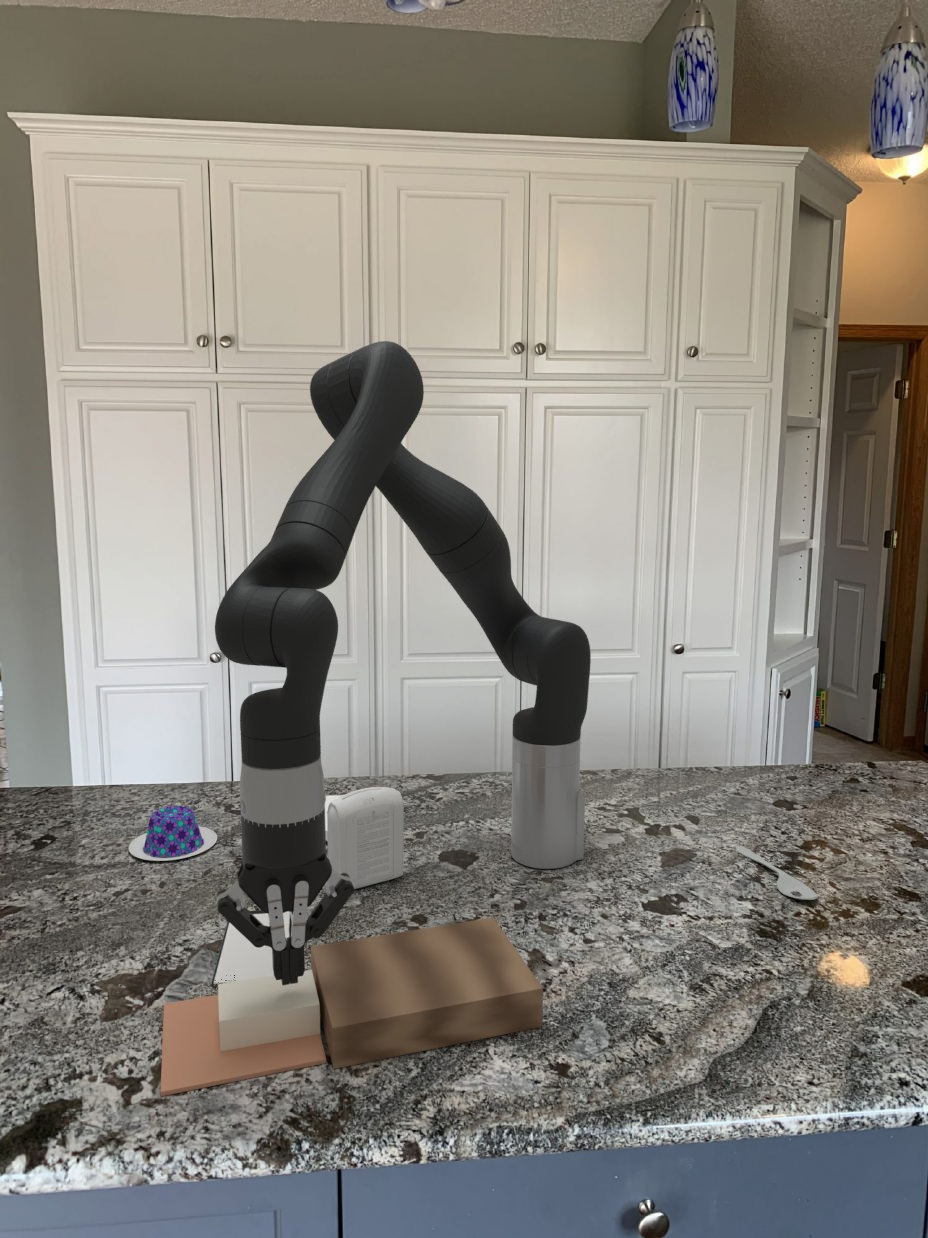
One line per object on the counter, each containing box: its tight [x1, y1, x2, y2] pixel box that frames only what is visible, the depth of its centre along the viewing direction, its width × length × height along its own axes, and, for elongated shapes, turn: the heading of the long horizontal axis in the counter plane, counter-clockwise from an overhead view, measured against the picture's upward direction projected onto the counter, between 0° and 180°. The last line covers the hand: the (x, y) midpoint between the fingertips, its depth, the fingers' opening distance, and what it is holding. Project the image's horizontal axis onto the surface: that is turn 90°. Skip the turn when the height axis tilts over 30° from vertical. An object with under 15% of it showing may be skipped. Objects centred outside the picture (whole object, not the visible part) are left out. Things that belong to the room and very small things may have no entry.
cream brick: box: [217, 969, 321, 1051], centre depth 82 cm, size 9×6×3 cm, turn 107°
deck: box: [310, 917, 544, 1070], centre depth 86 cm, size 20×14×4 cm
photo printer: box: [327, 786, 405, 890], centre depth 111 cm, size 10×4×12 cm, turn 123°
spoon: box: [735, 845, 819, 901], centre depth 116 cm, size 4×21×2 cm, turn 11°
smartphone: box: [210, 909, 289, 991], centre depth 97 cm, size 8×1×16 cm
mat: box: [160, 994, 327, 1097], centre depth 81 cm, size 14×13×1 cm
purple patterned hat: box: [128, 805, 218, 862], centre depth 123 cm, size 12×12×5 cm
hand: (288, 979), depth 81 cm, fingers closed
